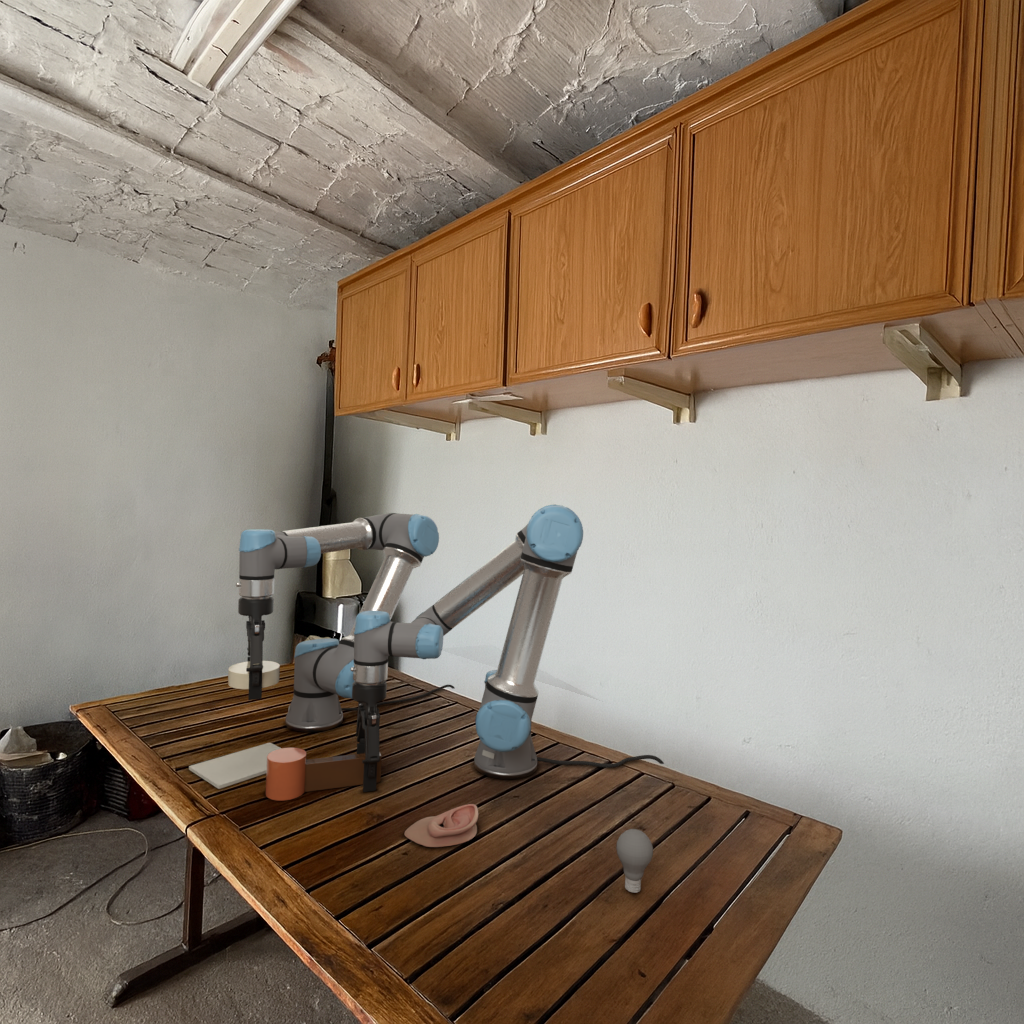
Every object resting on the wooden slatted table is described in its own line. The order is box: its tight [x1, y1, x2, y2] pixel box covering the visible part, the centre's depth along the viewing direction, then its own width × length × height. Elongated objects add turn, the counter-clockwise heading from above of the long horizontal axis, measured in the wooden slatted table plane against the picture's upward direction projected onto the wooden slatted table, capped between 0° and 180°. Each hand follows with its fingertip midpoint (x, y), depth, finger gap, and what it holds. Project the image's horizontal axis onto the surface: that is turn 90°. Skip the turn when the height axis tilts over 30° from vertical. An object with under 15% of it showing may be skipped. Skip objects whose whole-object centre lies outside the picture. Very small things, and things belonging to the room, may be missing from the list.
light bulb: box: [615, 828, 654, 894], centre depth 106 cm, size 6×6×10 cm
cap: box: [227, 660, 281, 690], centre depth 146 cm, size 11×11×4 cm
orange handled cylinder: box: [265, 747, 382, 802], centre depth 138 cm, size 24×8×8 cm, turn 112°
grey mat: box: [188, 742, 283, 790], centre depth 147 cm, size 20×14×1 cm
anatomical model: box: [404, 803, 479, 848], centre depth 121 cm, size 13×4×12 cm
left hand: (254, 691), depth 146 cm, fingers closed on cap, 11 cm apart
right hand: (365, 780), depth 142 cm, fingers open, 9 cm apart
